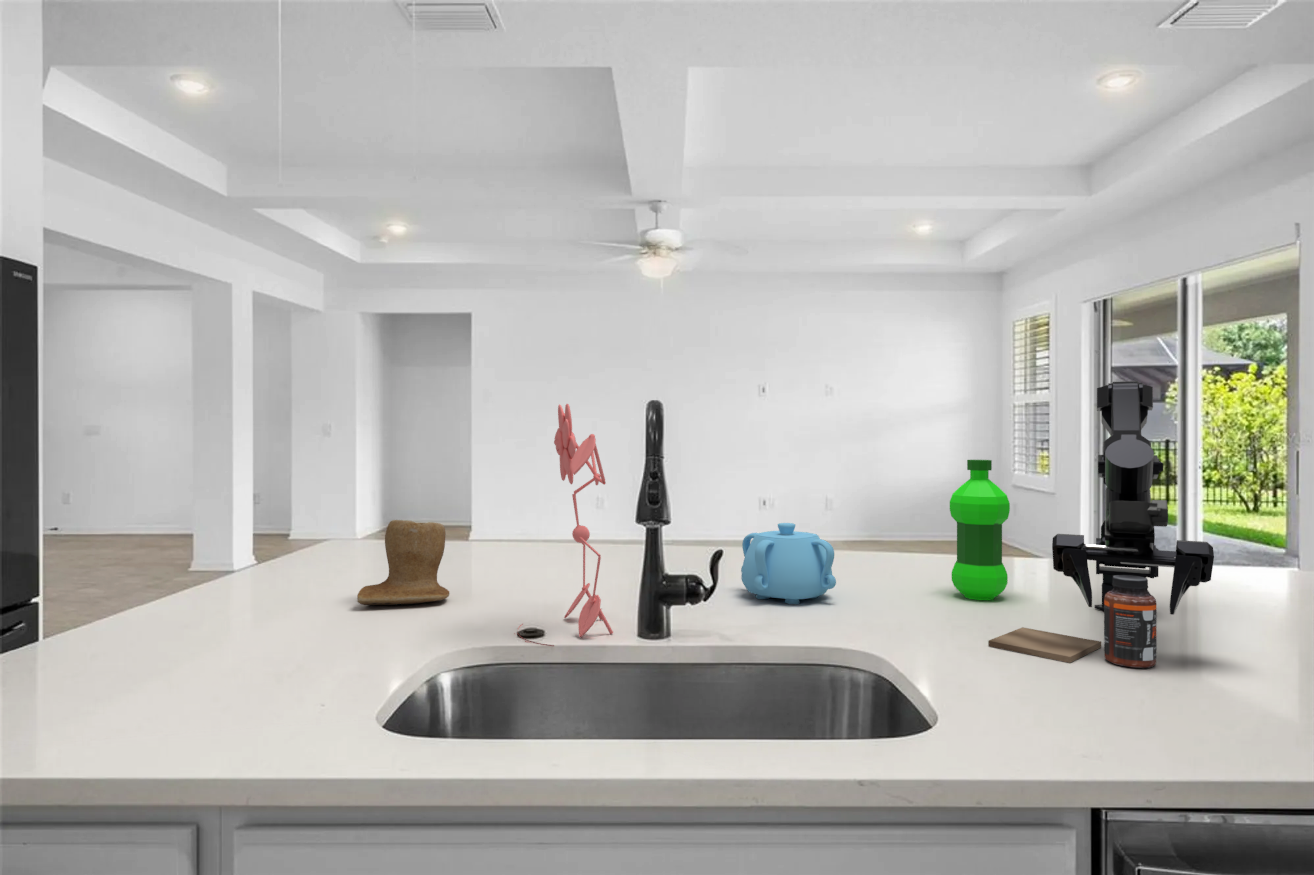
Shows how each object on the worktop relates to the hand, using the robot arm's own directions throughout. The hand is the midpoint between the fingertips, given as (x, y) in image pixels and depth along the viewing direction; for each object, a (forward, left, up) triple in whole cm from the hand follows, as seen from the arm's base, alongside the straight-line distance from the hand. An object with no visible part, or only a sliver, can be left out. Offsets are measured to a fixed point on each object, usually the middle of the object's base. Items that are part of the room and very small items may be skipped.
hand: (1130, 608), depth 104 cm
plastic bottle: (-13, -39, -7) cm, 42 cm away
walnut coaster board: (+3, -10, -7) cm, 13 cm away
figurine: (+63, -46, -7) cm, 79 cm away
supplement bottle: (-1, 0, -7) cm, 8 cm away
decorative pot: (+19, -53, -7) cm, 57 cm away
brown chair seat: (+84, -76, -7) cm, 114 cm away
